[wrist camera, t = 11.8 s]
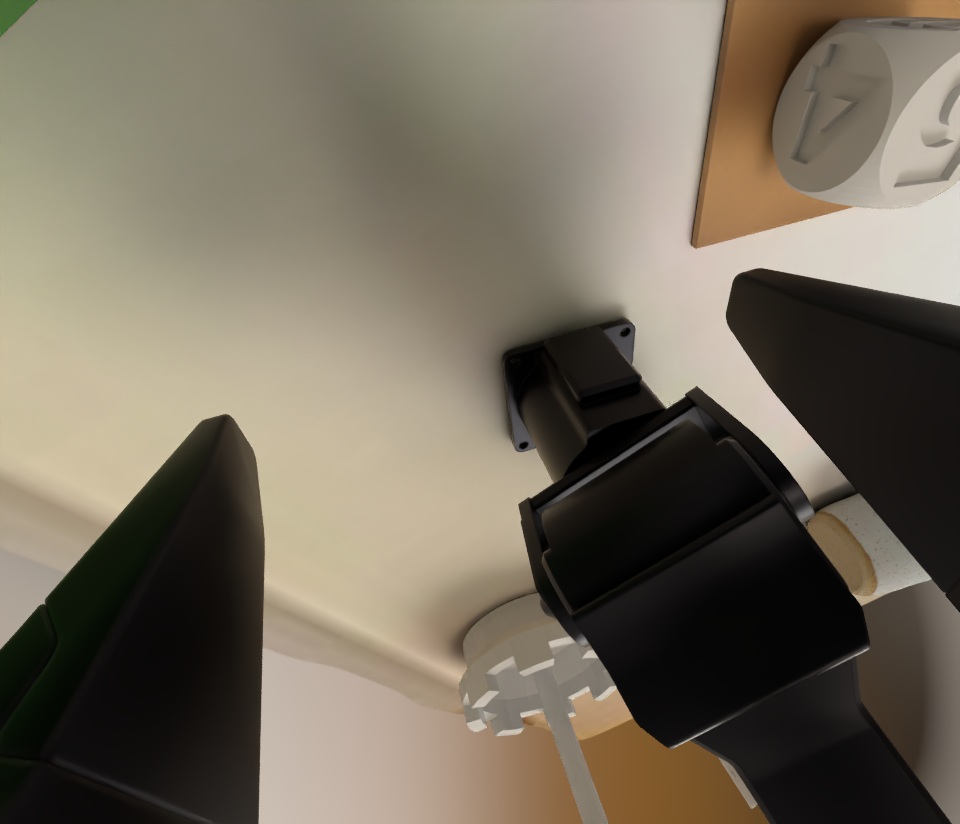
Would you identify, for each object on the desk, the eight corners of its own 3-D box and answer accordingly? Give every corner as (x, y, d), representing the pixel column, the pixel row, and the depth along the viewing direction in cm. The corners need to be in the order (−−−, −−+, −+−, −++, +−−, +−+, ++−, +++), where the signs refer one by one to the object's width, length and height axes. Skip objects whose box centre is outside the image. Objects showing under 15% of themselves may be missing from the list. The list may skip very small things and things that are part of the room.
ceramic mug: (806, 497, 41) (887, 582, 36) (902, 457, 41) (997, 536, 36) (788, 559, 49) (852, 638, 43) (869, 526, 49) (944, 600, 43)
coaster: (886, 194, 24) (893, 196, 24) (690, 245, 23) (695, 249, 23) (1003, -107, 18) (1015, -108, 17) (735, -54, 16) (743, -54, 16)
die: (753, 173, 21) (849, 217, 18) (800, 20, 18) (931, 34, 14) (854, 161, 22) (965, 201, 19) (917, 14, 19) (1068, 26, 15)
